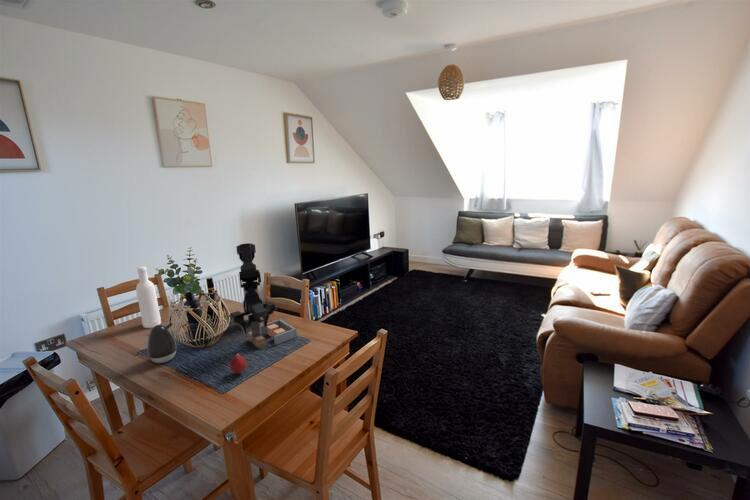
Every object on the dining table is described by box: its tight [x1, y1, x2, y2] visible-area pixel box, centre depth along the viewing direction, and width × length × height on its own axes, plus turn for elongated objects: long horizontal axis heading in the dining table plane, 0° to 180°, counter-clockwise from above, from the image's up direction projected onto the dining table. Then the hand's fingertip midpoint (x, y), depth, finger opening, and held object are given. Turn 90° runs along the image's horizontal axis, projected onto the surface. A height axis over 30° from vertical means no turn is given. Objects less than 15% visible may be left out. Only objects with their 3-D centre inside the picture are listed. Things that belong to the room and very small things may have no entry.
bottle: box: [135, 266, 162, 329], centre depth 174 cm, size 8×8×30 cm
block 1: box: [266, 324, 280, 338], centre depth 164 cm, size 4×4×4 cm
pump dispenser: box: [146, 322, 178, 364], centre depth 143 cm, size 10×10×15 cm
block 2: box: [273, 328, 286, 337], centre depth 159 cm, size 4×4×4 cm
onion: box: [229, 353, 248, 374], centre depth 133 cm, size 6×6×8 cm
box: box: [259, 318, 298, 346], centre depth 162 cm, size 15×10×4 cm
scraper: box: [247, 321, 267, 350], centre depth 155 cm, size 11×3×10 cm, turn 42°
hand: (255, 330), depth 155 cm, fingers open, 9 cm apart
